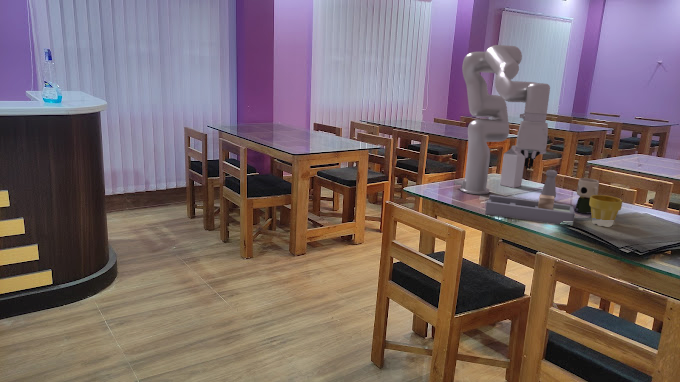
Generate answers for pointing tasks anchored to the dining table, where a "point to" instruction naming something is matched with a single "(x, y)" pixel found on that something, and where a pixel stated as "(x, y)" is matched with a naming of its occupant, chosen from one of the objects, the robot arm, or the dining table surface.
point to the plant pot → (604, 207)
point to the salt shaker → (550, 184)
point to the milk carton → (512, 168)
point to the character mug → (586, 194)
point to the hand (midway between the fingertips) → (528, 168)
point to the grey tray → (528, 210)
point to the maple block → (546, 202)
